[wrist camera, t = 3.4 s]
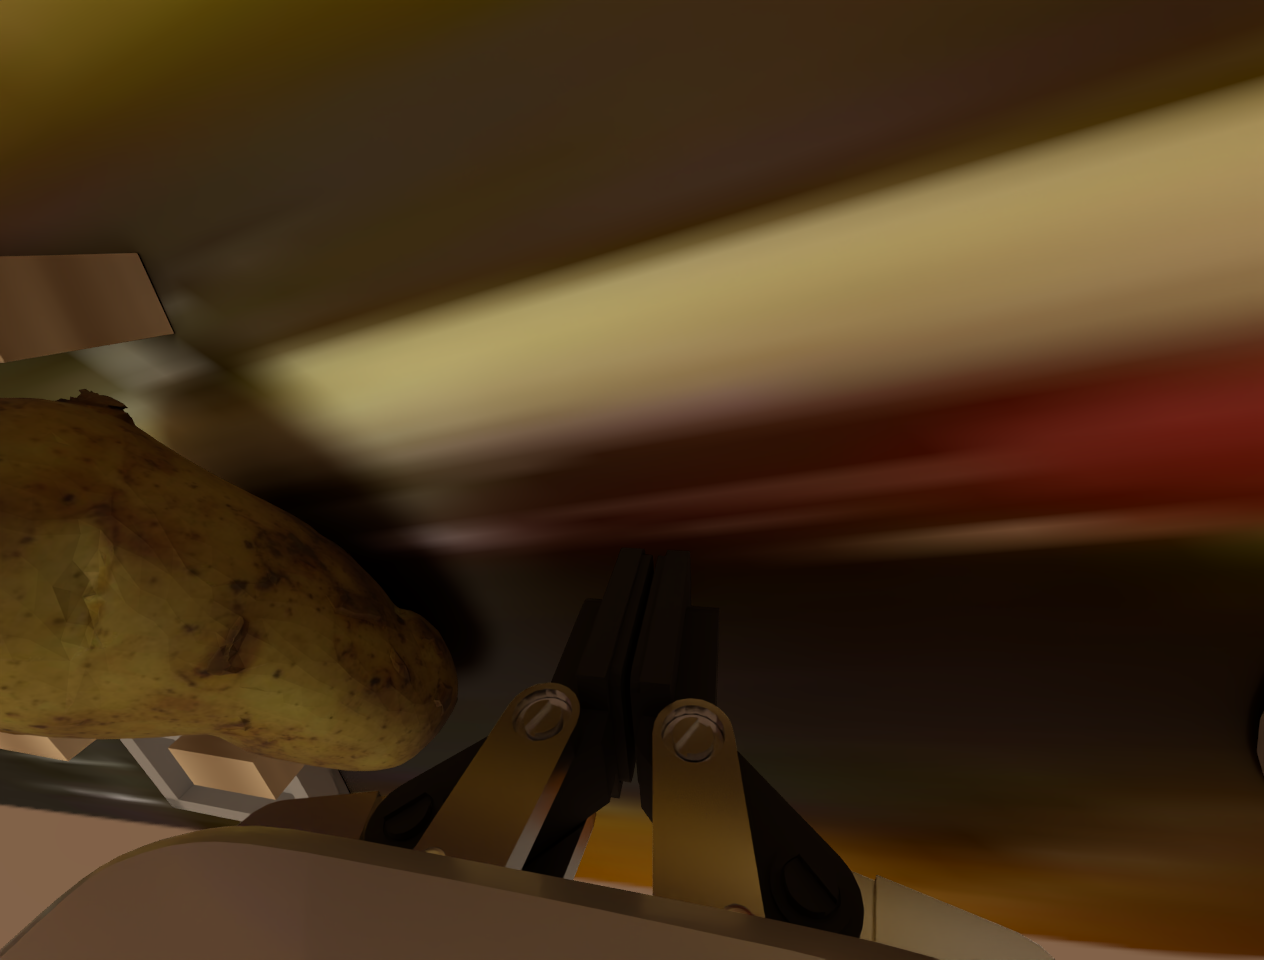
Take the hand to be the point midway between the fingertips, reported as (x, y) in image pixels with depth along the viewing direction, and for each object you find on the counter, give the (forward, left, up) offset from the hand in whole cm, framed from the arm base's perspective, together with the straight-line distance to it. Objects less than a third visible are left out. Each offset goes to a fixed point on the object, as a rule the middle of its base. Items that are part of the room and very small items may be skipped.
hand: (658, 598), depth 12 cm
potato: (+11, 0, -2) cm, 11 cm away
